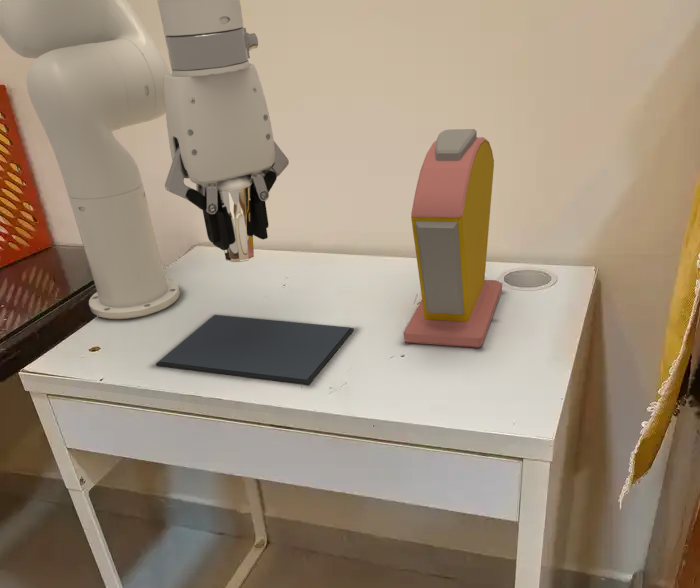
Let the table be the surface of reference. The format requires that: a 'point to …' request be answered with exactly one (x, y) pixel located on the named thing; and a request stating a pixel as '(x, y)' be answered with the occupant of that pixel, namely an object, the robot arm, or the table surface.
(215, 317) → the mouse pad
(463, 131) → the clock
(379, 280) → the table surface
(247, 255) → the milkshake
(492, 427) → the table surface
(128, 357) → the table surface
